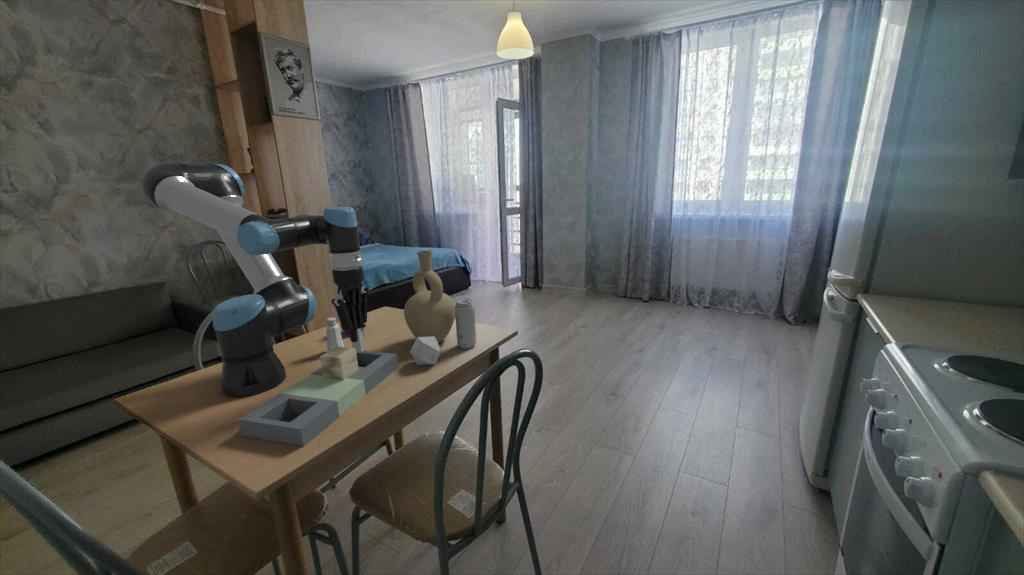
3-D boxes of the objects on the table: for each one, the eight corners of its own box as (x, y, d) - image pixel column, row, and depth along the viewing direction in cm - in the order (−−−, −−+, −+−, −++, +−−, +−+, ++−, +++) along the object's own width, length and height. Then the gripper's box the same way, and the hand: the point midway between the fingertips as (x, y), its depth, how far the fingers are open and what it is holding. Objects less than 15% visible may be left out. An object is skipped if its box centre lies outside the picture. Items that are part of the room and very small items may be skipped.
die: (427, 374, 113) (444, 344, 114) (401, 359, 114) (418, 329, 115) (433, 371, 122) (449, 343, 123) (408, 357, 122) (424, 329, 123)
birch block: (323, 377, 103) (320, 356, 102) (339, 367, 109) (336, 346, 107) (343, 380, 102) (340, 358, 100) (358, 369, 107) (355, 348, 106)
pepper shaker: (341, 354, 127) (335, 321, 124) (323, 355, 127) (318, 321, 124) (348, 347, 132) (343, 315, 129) (331, 348, 132) (326, 316, 130)
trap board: (242, 435, 87) (238, 419, 86) (351, 361, 122) (349, 349, 120) (303, 446, 83) (300, 429, 82) (398, 366, 117) (397, 353, 116)
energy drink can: (455, 344, 132) (452, 300, 128) (473, 341, 134) (470, 297, 130) (460, 351, 127) (456, 305, 123) (478, 347, 129) (476, 302, 125)
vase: (398, 341, 136) (388, 252, 129) (440, 328, 147) (433, 245, 139) (423, 355, 124) (414, 259, 117) (467, 340, 135) (462, 251, 127)
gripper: (343, 273, 99) (356, 362, 105) (374, 262, 111) (383, 342, 117) (317, 272, 101) (331, 359, 107) (350, 262, 113) (361, 340, 119)
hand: (358, 350), depth 112 cm, fingers closed
